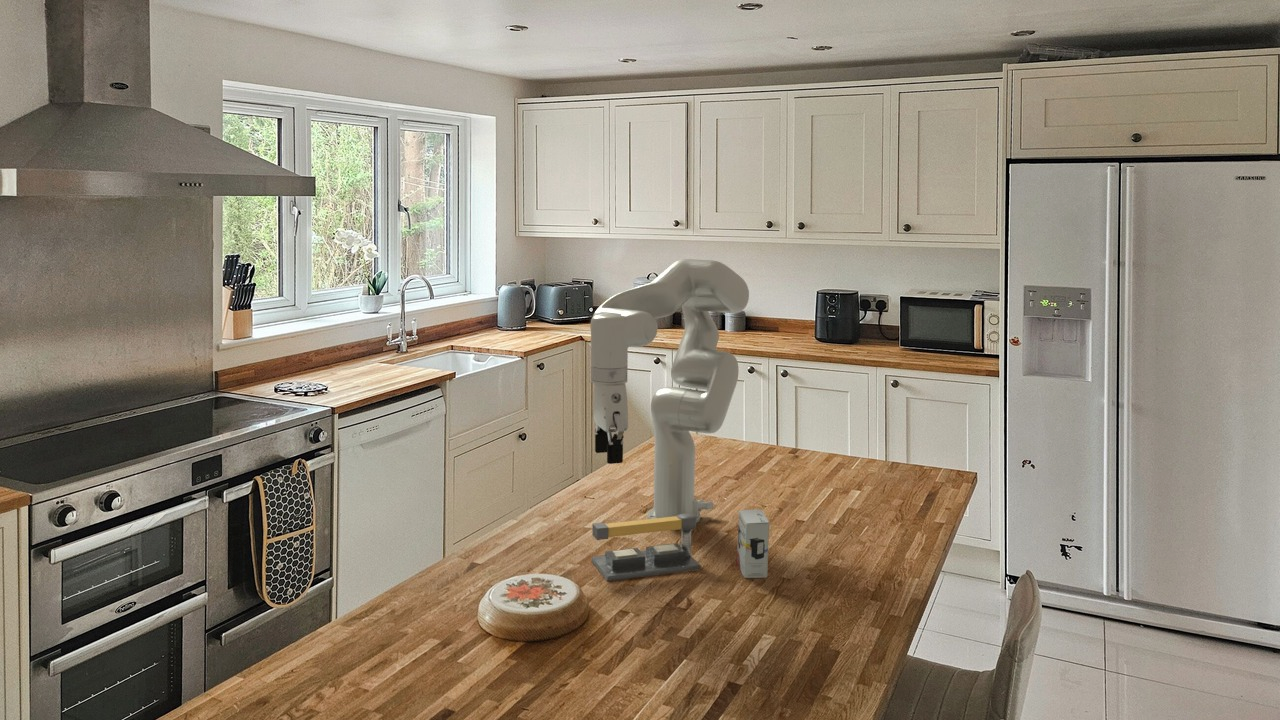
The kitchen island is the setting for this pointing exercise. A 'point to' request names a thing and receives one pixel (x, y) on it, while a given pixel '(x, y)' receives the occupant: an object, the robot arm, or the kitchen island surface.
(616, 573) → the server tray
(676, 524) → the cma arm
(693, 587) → the kitchen island surface
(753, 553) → the ink box
